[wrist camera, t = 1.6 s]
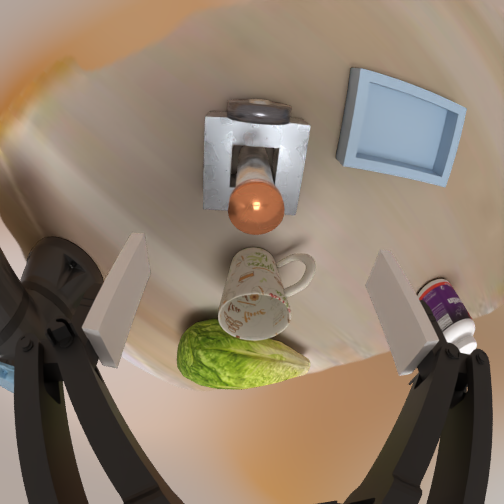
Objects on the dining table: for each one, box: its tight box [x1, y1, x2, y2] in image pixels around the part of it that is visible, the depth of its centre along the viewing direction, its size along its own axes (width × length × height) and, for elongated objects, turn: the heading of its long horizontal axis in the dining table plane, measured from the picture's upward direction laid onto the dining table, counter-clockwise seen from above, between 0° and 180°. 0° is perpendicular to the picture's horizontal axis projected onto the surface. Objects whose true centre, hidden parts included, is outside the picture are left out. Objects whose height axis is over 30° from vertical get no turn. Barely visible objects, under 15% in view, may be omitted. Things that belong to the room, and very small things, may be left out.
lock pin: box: [228, 145, 285, 235], centre depth 25 cm, size 4×4×13 cm
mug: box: [218, 247, 316, 340], centre depth 35 cm, size 8×13×10 cm, turn 123°
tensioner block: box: [203, 99, 310, 215], centre depth 28 cm, size 10×12×6 cm
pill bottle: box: [417, 279, 477, 354], centre depth 39 cm, size 8×8×14 cm
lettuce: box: [177, 319, 310, 390], centre depth 46 cm, size 12×24×13 cm
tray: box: [336, 68, 467, 187], centre depth 27 cm, size 15×11×3 cm
